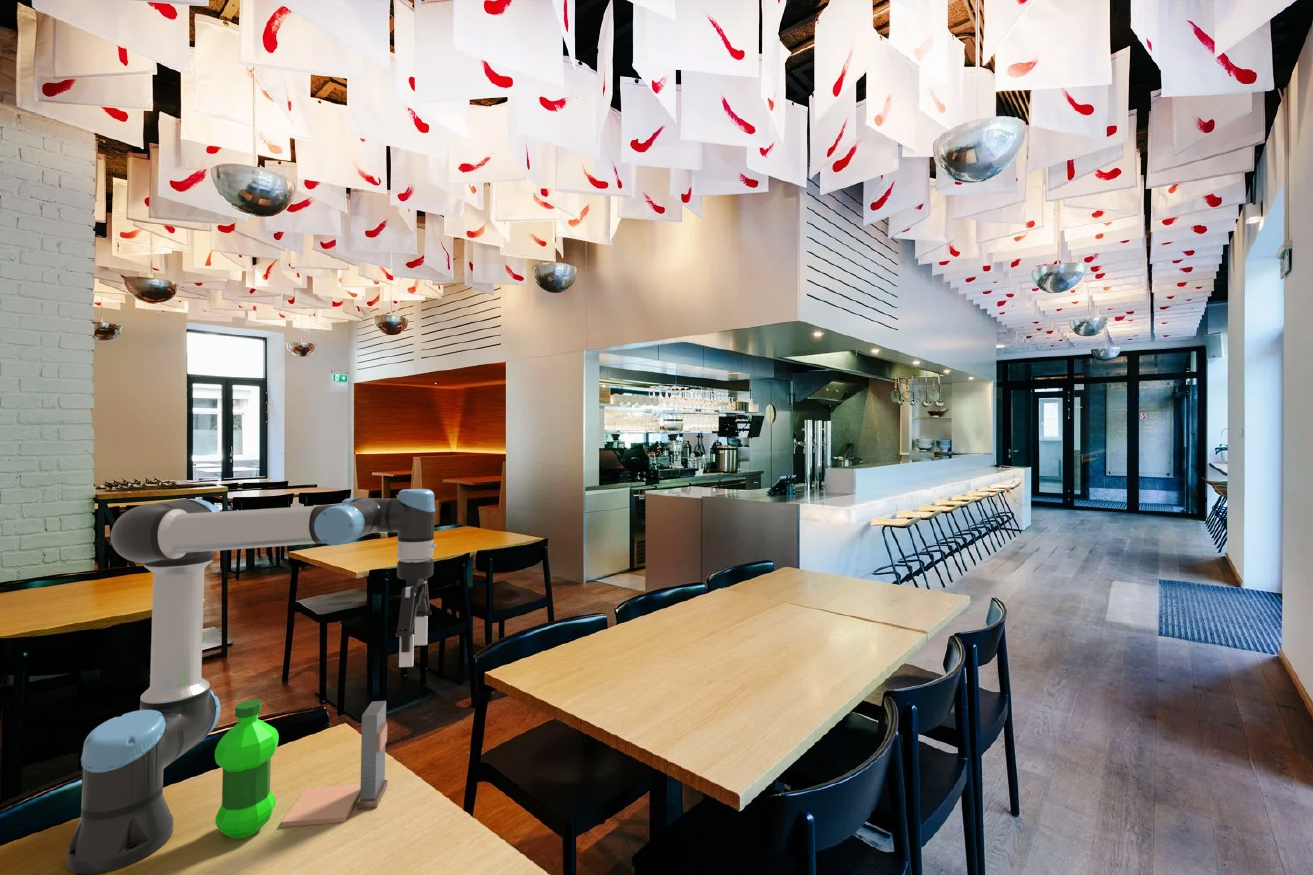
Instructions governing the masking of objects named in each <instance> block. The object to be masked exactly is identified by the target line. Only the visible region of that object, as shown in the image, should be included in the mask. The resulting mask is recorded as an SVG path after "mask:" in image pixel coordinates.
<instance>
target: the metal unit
mask: <svg viewBox="0 0 1313 875" xmlns="http://www.w3.org/2000/svg"><path fill="white" fill-rule="evenodd" d="M386 719H387V700H377V701H371V702H370V704H369V705H368V706H367V708H366V709H365V711H364V712H363V713H362V715H361V741H360V742H361V744H360V745H361V749H360V751H361V752H360V784H361V789H360V796H359V798H358V800H357V801H356V810H364V809H363V808H368V809H377V808H378V807H379V805H378V804H380V803H379V802H381V800H382V798H383V796H384V794H385V792H386V790H387V788H388V782H389V780H388V779H385V778H386V777H385V776H386V774H385V772H386V770H385V768H386V743H387V741H388V722H387V720H386ZM386 787H387V788H386Z"/></svg>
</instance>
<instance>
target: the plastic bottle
mask: <svg viewBox="0 0 1313 875" xmlns="http://www.w3.org/2000/svg"><path fill="white" fill-rule="evenodd" d="M234 709H235V710H234V715H235V716H234V717H236V718H238V722H237V723H236V724H235V725H234V726H232V727H231V728H230V729H229V730H228V731H227V732H226V733H225V734H224V735H223V736H222V737H221V739H220V740H219V741H218V743H217V745H216V747H215V750H214V759H215V760H214V761H215V763H216V765H218V766H219V767H220V768H222V782H221V783H222V787H221V790H222V791H221V805H220V807H219V809H218V811H217V813H216V816H215V825H216V827H217V829H218V830H219V831H220V832H222V833H223V834H224V835H225V836H227V837H230V838H232V839H244V838H247V837H250V836H253V835H254V834H255V833H257V832H258V831H260V829H261V828H263V827H264V825H266V823H268V821H269V820H270V818H271V816H272V814H273V811H274V809H275V806H276V797H275V795H274V793H273V792H272V791H271V769H272V768H271V765H272V764H271V762H272V759H271V758H272V757H273V756H274V755H275V752H276V750H277V748H278V745H279V738H280V737H279V736H280V735H279V733H278V730H277V729H276V728H275V727H273V726H272V725H270V724H268V723H267V722H265V721H263V720H261V719H259V714H260V713H261V711H262V701H261V700H259V699H250V700H246V701H245V700H244V701H243V702H239V703H237V705H236V706H235V708H234Z"/></svg>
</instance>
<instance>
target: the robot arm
mask: <svg viewBox="0 0 1313 875" xmlns="http://www.w3.org/2000/svg"><path fill="white" fill-rule="evenodd" d="M435 513H436V508H435V493H434V492H433V491H432V490H431V489H428V488H407V489H406V488H405V489H401V490H400V491H398V496H397V497H396V498H395V497H394V498H384V497H383V498H379V497H378V498H377V497H375V498H374V497H372V498H371V497H360V496H359V497H353V498H351V497H349V498H345V499H344V500H342V501H341V503H340V504H324V505H312V506H311V505H309V506H308V505H307V506H293V507H291V506H290V507H275V508H274V507H273V508H259V509H244V510H243V509H242V510H241V509H240V510H227V511H221V510H219V508H217V506H215V505H214V504H213V503H211V502H209V501H207V500H204V499H198V498H188V499H187V498H183V499H181V498H180V499H178V498H177V499H174V500H170V501H169V500H168V501H161V502H157V503H148V504H142V505H138V506H135V507H133V508H131V509H129V510H127V511H126V512H124V513H123V514H121V515H120V516H119V517H118V518H117V520H116V521H115V523H114V524H113V526H112V529H111V531H110V532H111V533H110V543H111V545H112V547H113V549H114V550H115V552H116V553H117V554H118V555H119V556H121V557H122V558H124V559H126V560H128V561H131V562H134V563H142V564H143V567H144V568H145V569H147V570H148V571H150V572H151V573H152V604H151V605H152V611H151V640H150V641H151V644H150V675H149V679H150V680H149V681H150V682H149V687H148V689H146V690H145V691H144V692H143V693H142V694H141V695H140V700H139V701H140V702H139V709H138V710H134V711H130V712H127V713H126V712H125V713H123V714H122V715H121V716H114V717H113V718H110V719H108V720H105V721H103V722H102V723H101V724H99V725H98V726H96V727H95V728H94V729H93V730H91V731H90V733H89V734H88V735H87V736H86V738H85V740H84V742H83V748H82V753H81V757H80V762H81V763H80V765H81V800H80V801H81V803H80V804H81V805H80V808H81V810H80V819H79V821H78V824H77V826H76V829H75V831H74V834H73V836H72V839H71V841H70V843H69V845H68V848H67V851H66V868H67V870H68V871H69V872H71V871H73V872H76V873H75V874H77V873H83V874H82V875H94V873H95V874H100V873H101V874H102V873H106V872H109V871H113V870H117V869H120V868H122V867H123V868H124V867H126V866H129V865H132V864H134V863H136V862H138V861H140V860H143V859H144V858H146V857H148V856H149V855H151V854H152V853H154V852H157V850H159V849H160V848H161V847H163V846H164V845H166V843H167V842H168V841H169V840H170V839H171V837H172V835H173V832H174V818H173V815H172V814H171V811H170V808H169V805H168V803H167V801H166V799H165V796H164V794H163V792H164V791H163V789H164V787H163V786H164V769H165V768H166V767H167V766H170V765H171V764H172V763H174V762H175V761H176V760H177V759H179V758H180V757H182V756H183V755H184V754H185V753H187V752H188V751H189V750H191V749H193V748H195V747H196V746H198V745H199V744H200V743H202V742H203V740H204V739H205V738H207V736H208V735H209V734H211V732H212V731H213V730H214V728H215V727H216V725H217V724H218V722H219V719H220V716H221V703H220V700H219V697H218V695H215V692H214V691H213V690H212V689H211V688H210V686H211V685H210V684H211V683H210V682H209V681H208V680H206V679H205V678H203V677H202V667H203V665H202V662H203V632H204V631H203V629H204V599H205V598H204V594H205V593H204V589H205V569H206V568H207V567H208V565H210V564H211V563H212V562H213V561H214V551H215V552H217V551H228V550H229V551H230V550H240V549H241V550H242V549H243V550H244V549H257V548H258V549H259V548H269V547H270V548H271V547H285V546H297V545H298V546H299V545H314V544H326V545H330V546H338V545H346V544H349V543H351V542H353V541H355V540H357V539H360V538H362V537H364V536H367V535H369V534H372V533H373V534H374V533H397V548H396V552H397V554H396V556H397V557H396V558H397V559H398V561H397V562H396V577H397V578H398V579H400V580H404V581H406V586H403V587H402V588H401V601H400V607H399V614H398V623H397V632H395V633H394V636H395V638H398V637H399V646H398V648H399V649H398V650H399V652H398V654H399V655H398V656H399V657H398V658H399V659H398V668H409V667H410V668H412V667H414V660H415V659H414V656H415V655H414V654H415V653H414V652H415V651H414V647H415V646H427V645H428V626H429V625H428V617H429V616H432V609H431V605H430V598H429V597H430V596H429V584H428V578H430V577H432V576H433V575H434V566H435V564H434V563H435V561H434V559H433V557H434V556H435V555H434V553H435V552H434V551H435V550H434V549H436V548H437V544H436V543H434V542H435V540H434V539H435V516H436V514H435ZM73 872H72V873H73Z"/></svg>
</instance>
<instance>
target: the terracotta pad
mask: <svg viewBox="0 0 1313 875" xmlns="http://www.w3.org/2000/svg"><path fill="white" fill-rule="evenodd" d="M360 789H361V783H357V784H344V785H343V784H342V785H329V786H317V787H316V786H315V787H305V789H304V790H303V791H302V793H301V794H300V795H299V797H298V798H297V799H296V801H295V803H294V804H293V805H292V807H291V808H290V810H289V811H288V812H287V813H286V815H285V816H284V817H283V819H282V820H281V822H280V823H281V824H280V825H281V826H280V828H286V827H287V828H288V827H296V826H297V827H298V826H312V825H322V824H333V823H334V824H335V823H345V822H346V821H347V820H348V817H349V815H350V814H351V811H352V810H353V809H352V808H354V806H355V805H356V804H357V801H358V800H359V798H360V796H359V795H360ZM358 797H359V798H358ZM357 799H358V800H357Z"/></svg>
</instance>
